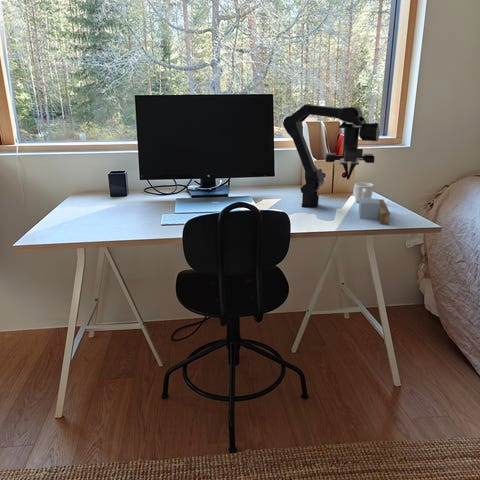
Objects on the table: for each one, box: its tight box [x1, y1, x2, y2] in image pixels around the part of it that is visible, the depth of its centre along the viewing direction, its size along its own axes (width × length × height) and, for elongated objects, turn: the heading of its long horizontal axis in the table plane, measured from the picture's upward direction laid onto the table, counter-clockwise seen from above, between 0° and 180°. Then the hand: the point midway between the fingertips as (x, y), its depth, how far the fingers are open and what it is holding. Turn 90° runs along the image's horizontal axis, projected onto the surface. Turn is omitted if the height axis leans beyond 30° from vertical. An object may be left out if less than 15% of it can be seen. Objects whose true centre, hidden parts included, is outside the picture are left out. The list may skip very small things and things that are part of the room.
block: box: [358, 197, 380, 220], centre depth 168 cm, size 7×7×6 cm
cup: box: [354, 181, 375, 203], centre depth 187 cm, size 11×8×8 cm
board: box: [377, 198, 391, 226], centre depth 167 cm, size 3×20×4 cm, turn 169°
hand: (347, 179), depth 173 cm, fingers closed
